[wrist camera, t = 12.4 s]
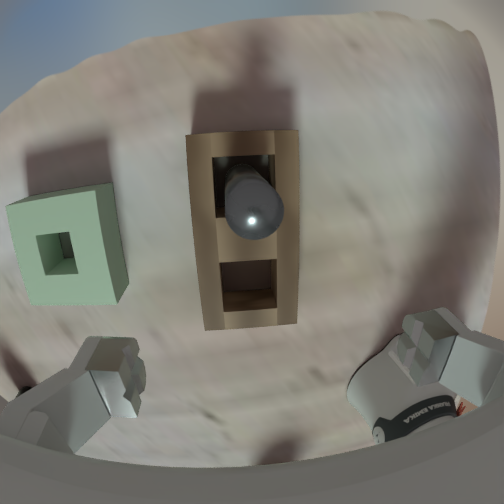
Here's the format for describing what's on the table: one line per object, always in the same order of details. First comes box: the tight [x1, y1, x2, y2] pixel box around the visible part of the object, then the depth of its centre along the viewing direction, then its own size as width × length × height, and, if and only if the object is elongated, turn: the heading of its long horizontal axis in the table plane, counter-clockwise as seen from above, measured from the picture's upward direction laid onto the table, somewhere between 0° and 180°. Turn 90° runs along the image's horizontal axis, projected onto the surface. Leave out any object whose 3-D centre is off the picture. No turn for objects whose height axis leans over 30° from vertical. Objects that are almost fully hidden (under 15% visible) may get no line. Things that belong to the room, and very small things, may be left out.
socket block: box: [6, 182, 129, 305], centre depth 30 cm, size 12×12×5 cm
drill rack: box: [186, 130, 299, 331], centre depth 32 cm, size 10×20×4 cm, turn 2°
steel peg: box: [225, 164, 284, 240], centre depth 25 cm, size 4×4×14 cm
